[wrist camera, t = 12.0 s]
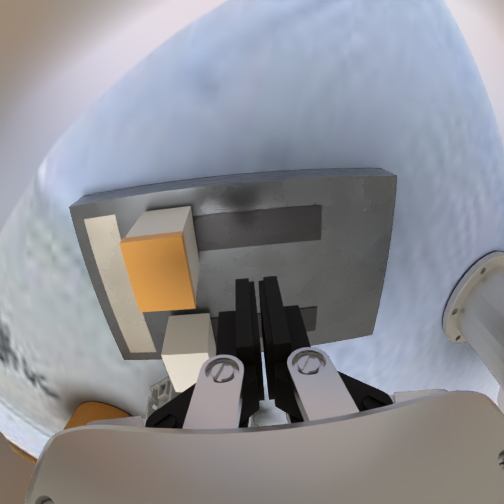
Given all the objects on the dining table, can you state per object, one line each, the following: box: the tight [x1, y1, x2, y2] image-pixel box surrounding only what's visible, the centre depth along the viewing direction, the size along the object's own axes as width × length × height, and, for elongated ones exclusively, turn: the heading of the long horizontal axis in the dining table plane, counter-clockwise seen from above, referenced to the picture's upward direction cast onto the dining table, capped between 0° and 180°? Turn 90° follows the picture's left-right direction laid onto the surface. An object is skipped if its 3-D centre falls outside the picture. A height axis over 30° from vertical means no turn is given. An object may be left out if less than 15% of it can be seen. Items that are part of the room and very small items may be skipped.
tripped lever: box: [119, 206, 200, 312], centre depth 16 cm, size 3×4×5 cm
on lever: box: [161, 313, 216, 392], centre depth 20 cm, size 3×4×4 cm
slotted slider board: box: [69, 168, 397, 360], centre depth 22 cm, size 22×14×3 cm, turn 94°
